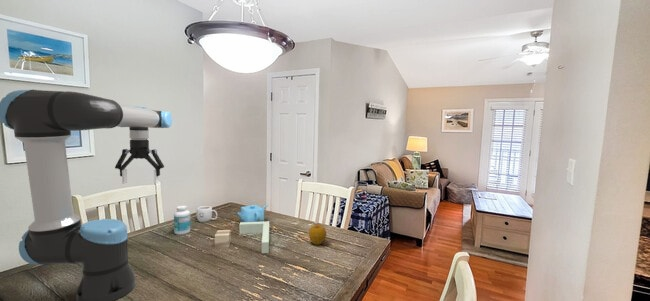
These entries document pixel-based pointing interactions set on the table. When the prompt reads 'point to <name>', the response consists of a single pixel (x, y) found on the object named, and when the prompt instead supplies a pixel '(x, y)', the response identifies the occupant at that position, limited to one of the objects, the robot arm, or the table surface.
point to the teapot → (252, 213)
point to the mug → (205, 213)
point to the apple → (317, 234)
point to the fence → (257, 228)
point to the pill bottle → (181, 220)
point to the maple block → (222, 238)
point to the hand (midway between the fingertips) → (140, 182)
